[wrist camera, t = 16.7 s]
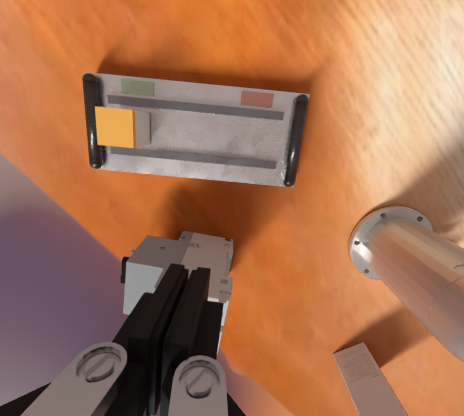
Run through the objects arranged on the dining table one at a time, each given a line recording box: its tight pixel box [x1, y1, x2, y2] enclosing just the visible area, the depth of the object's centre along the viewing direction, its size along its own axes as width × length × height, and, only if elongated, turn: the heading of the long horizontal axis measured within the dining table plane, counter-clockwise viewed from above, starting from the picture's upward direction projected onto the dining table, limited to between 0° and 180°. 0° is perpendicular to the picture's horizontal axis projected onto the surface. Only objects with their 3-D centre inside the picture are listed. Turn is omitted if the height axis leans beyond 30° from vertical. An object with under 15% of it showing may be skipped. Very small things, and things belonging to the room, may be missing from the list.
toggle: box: [95, 106, 150, 148], centre depth 30 cm, size 4×4×6 cm
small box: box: [333, 342, 408, 416], centre depth 42 cm, size 8×6×13 cm
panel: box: [82, 72, 310, 188], centre depth 33 cm, size 28×12×4 cm, turn 85°
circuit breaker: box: [121, 231, 234, 353], centre depth 34 cm, size 8×14×15 cm, turn 79°
